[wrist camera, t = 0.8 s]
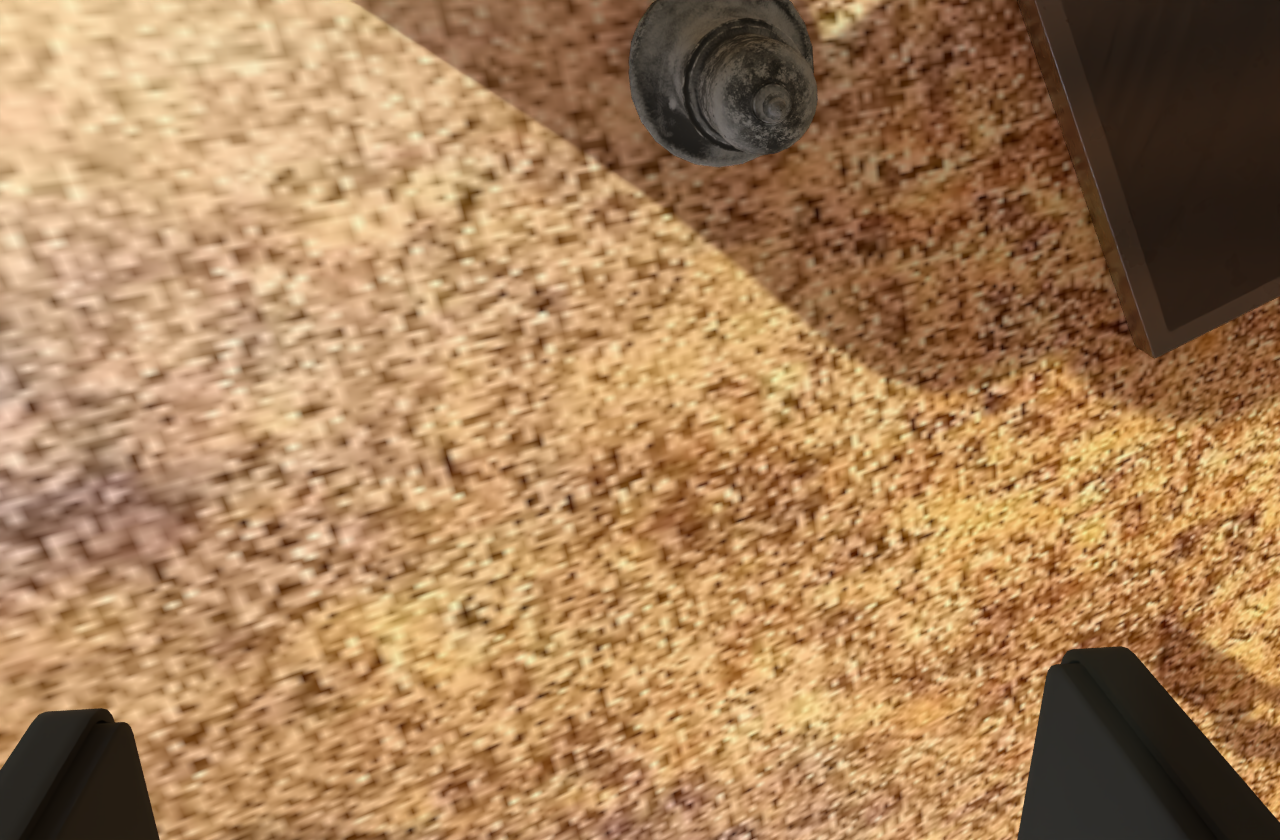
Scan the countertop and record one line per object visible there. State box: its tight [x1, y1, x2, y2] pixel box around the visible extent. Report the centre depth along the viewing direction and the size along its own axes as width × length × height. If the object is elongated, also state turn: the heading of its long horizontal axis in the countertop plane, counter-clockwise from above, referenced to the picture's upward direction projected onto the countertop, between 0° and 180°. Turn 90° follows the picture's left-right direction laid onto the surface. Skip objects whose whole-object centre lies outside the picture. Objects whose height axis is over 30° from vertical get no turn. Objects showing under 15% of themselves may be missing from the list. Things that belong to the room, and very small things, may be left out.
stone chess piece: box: [629, 0, 818, 167], centre depth 31 cm, size 6×6×12 cm
